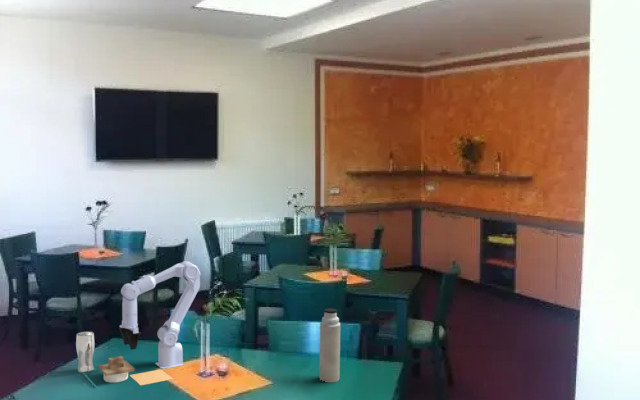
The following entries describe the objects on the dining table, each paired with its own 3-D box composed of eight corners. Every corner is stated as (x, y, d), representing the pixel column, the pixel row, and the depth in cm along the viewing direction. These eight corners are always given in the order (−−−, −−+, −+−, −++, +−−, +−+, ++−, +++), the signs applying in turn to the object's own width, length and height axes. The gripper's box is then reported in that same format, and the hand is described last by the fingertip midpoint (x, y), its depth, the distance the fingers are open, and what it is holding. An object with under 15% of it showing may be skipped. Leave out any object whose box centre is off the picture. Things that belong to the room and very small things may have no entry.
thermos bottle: (323, 374, 263) (324, 306, 261) (342, 376, 261) (343, 308, 258) (316, 380, 256) (317, 310, 253) (335, 383, 253) (337, 312, 251)
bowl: (123, 374, 260) (123, 364, 260) (130, 380, 253) (130, 370, 253) (101, 378, 255) (101, 368, 255) (108, 385, 248) (107, 374, 248)
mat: (161, 370, 265) (161, 369, 265) (173, 380, 254) (173, 378, 254) (129, 376, 258) (129, 375, 257) (140, 386, 247) (140, 385, 247)
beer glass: (88, 373, 260) (88, 336, 259) (73, 372, 261) (72, 335, 260) (98, 368, 267) (97, 332, 265) (82, 366, 268) (82, 330, 267)
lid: (125, 362, 261) (125, 352, 261) (134, 370, 252) (134, 359, 252) (97, 367, 255) (97, 356, 255) (106, 376, 246) (105, 364, 246)
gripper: (114, 311, 266) (114, 343, 267) (125, 319, 254) (126, 353, 255) (131, 308, 270) (131, 340, 271) (143, 316, 258) (143, 350, 259)
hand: (130, 346), depth 263 cm, fingers open, 7 cm apart
